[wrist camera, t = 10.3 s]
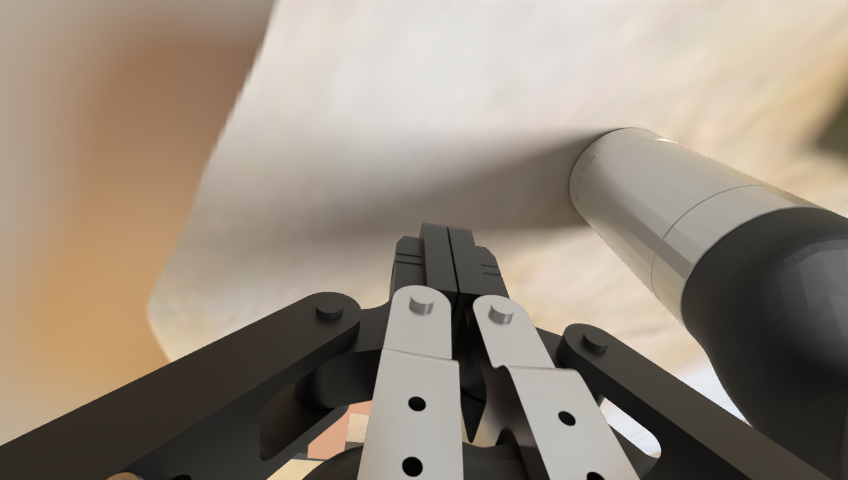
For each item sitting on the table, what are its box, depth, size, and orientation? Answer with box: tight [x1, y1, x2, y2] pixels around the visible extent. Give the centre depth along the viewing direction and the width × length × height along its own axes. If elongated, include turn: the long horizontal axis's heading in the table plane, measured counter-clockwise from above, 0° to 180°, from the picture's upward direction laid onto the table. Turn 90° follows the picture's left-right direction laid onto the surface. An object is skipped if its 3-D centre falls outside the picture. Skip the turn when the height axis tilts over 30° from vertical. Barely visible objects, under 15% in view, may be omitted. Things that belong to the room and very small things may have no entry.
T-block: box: [307, 401, 372, 459], centre depth 47 cm, size 12×12×4 cm
